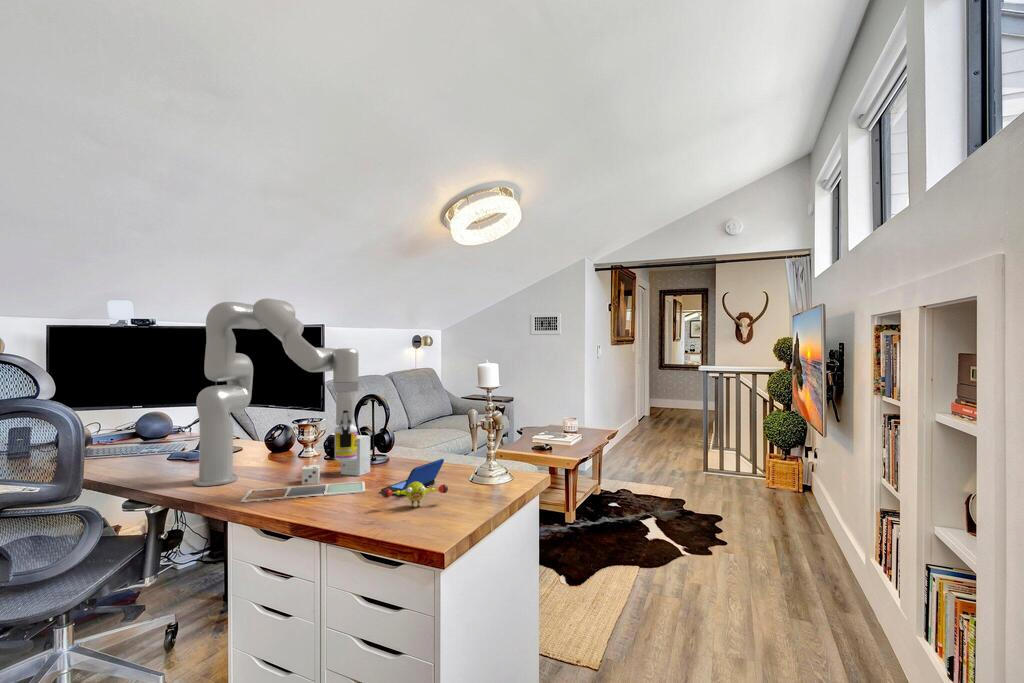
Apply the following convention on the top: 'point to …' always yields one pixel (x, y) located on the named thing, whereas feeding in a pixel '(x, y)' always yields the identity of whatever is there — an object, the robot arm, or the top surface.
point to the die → (310, 474)
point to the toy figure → (414, 492)
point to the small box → (358, 458)
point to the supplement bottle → (346, 452)
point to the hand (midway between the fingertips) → (345, 444)
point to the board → (316, 490)
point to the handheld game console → (418, 476)
